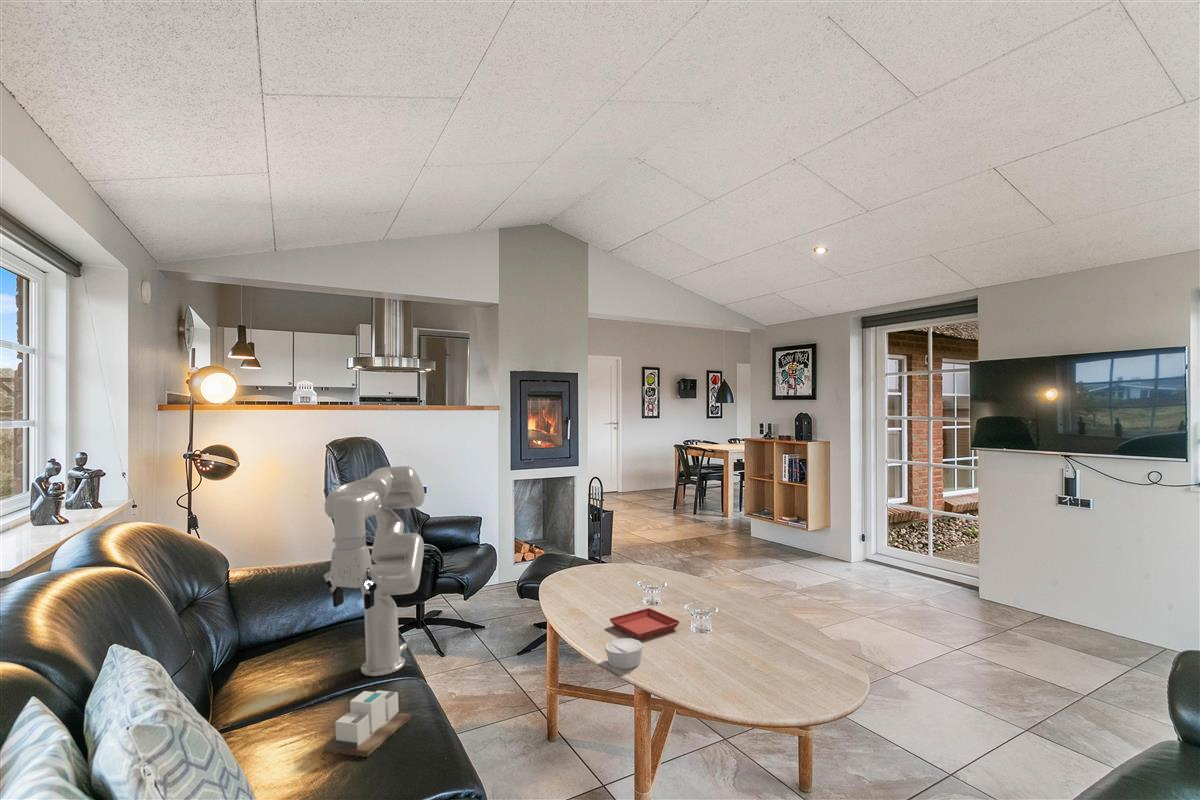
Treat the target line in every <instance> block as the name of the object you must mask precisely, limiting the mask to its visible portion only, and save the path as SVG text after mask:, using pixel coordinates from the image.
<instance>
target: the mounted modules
mask: <svg viewBox="0 0 1200 800" xmlns="http://www.w3.org/2000/svg"><path fill="white" fill-rule="evenodd" d="M375 692H378V693H385V711H386V720H389V719H390V718H392V717H393V716H394V715H395V714H396V713H398V712H399V713H400V707H399V693H398V691H397V692H396V691H395V692H394V691H389V690H388V691H387V690H379V689H378V690H376V691H375ZM334 724H335V736H336V740H339V741H347V742H354V743H357V746H358V745H359V744H361V743H362V742H363V741H364V740H365V739H367V738H368V737H369V736H370V732H369V715H363V714H355V713H350V712H347V713H345V714H344V715H342V716H341V717H340V718H338V719H337V720H336V721H335V723H334Z"/></svg>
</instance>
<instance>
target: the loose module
mask: <svg viewBox="0 0 1200 800" xmlns="http://www.w3.org/2000/svg"><path fill="white" fill-rule="evenodd" d="M349 706H350V707H349V708H350V709H349V710H350V711H349V713H355V714H363V715H369V732H370V733H373V732H375V731H376V730H377V729H378V728H379V727H381V726H382V725H383V724H384V723H385V722H386V711H385V693H378V692H376V691H368V690H364V691H362V692H361V693H359V694H358V695H357V696H355V697H354V698H352V699H351V700H349Z"/></svg>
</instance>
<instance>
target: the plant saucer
mask: <svg viewBox="0 0 1200 800" xmlns="http://www.w3.org/2000/svg"><path fill="white" fill-rule="evenodd" d="M609 621H610V623H611V624H612V625H613V626H614V627H615V628H616V627H617V628H616V629H618V628H619V629H618V630H620V631H622V632H624V633H626V634H628V635H629V636H632V637H634V639H636V640H638V641H640V640H645V639H648V638H652V637H654V636H658V635H661V634H664V633H668V632H671V631H674V630H675V629H676V628H677V627H678V625H680V623H681V621H680V620H678V619H676V618H673V617H671V616H669V615H666V614H664V613H661V612H659V611H657V610H655V609H653V608H650V607H649V608H643V609H640V610H636V611H632V612H629V613H625V614H621V615H618V616H614V617H611V618H609Z"/></svg>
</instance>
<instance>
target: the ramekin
mask: <svg viewBox="0 0 1200 800" xmlns="http://www.w3.org/2000/svg"><path fill="white" fill-rule="evenodd" d="M643 646H644V645H643V643H642V642H641V641H640V640H639V639H636V638H630V637H628V638H627V637H623V638H622V637H620V638H615V639H612V640H610V641H608V642H607V643H606V644H605V646H604V650H605V652H606V656H607V661H608V663H609V665H610V666H611V667H613V668H615V669H618V670H629V669H633V668H636V667H637V666H639V664H640V663H641V661H642V653H643V652H642V651H643V649H644V648H643Z"/></svg>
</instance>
